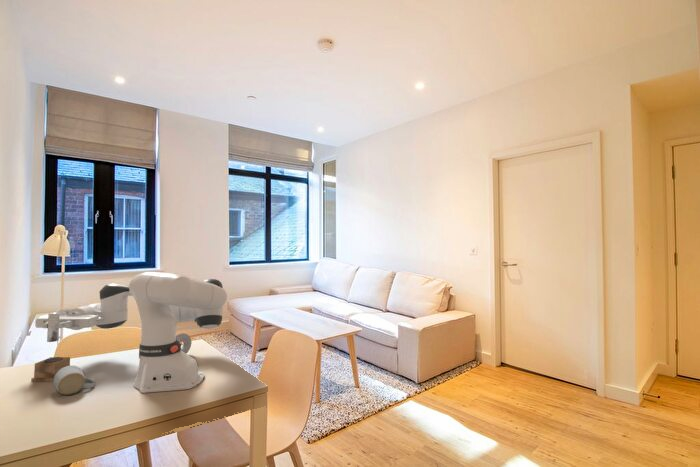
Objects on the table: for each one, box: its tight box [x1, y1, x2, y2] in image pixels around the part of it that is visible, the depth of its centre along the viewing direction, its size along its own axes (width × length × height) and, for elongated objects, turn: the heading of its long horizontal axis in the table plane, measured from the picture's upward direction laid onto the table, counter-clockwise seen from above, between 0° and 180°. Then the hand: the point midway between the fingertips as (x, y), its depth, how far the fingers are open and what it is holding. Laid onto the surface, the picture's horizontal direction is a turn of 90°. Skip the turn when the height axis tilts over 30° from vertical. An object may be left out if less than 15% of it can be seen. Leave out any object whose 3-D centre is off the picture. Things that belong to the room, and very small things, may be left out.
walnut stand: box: [31, 356, 71, 382], centre depth 126 cm, size 8×8×6 cm
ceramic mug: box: [53, 365, 96, 396], centre depth 115 cm, size 11×8×8 cm
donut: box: [176, 333, 192, 354], centre depth 151 cm, size 10×4×10 cm, turn 153°
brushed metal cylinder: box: [46, 312, 60, 343], centre depth 126 cm, size 3×3×10 cm
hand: (51, 326), depth 126 cm, fingers closed on brushed metal cylinder, 3 cm apart
